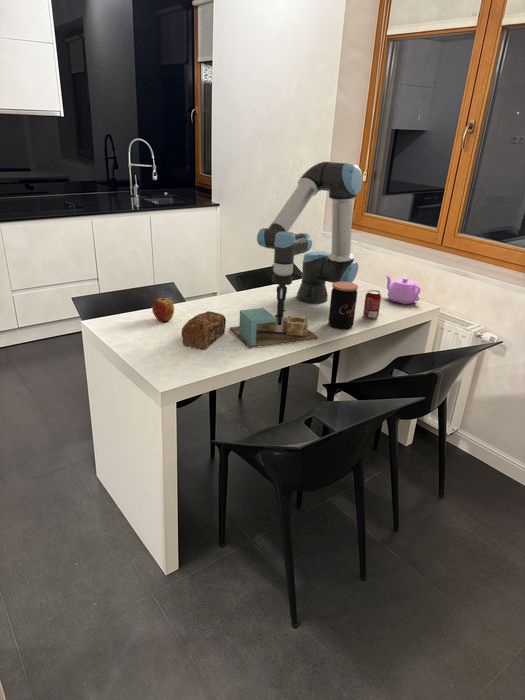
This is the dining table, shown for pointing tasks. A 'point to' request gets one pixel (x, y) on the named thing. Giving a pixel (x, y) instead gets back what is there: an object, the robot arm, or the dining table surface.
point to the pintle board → (273, 337)
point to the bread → (203, 329)
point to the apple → (163, 309)
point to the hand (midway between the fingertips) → (279, 329)
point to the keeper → (253, 323)
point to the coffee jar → (342, 305)
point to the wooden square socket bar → (287, 326)
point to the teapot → (402, 290)
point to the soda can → (372, 304)
